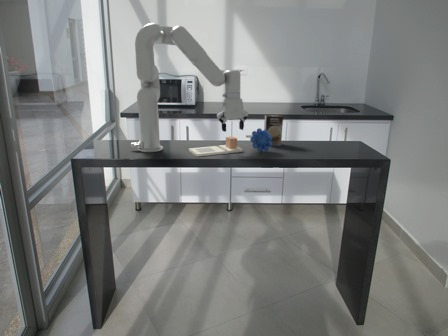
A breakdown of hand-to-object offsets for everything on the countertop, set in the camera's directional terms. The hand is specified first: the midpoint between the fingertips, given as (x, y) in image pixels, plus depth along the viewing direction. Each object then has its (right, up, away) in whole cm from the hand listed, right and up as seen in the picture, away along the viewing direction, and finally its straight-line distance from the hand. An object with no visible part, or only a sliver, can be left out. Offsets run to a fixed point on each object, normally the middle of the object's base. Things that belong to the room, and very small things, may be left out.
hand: (232, 130), depth 180 cm
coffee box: (+22, -6, +15) cm, 28 cm away
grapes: (+14, -11, -1) cm, 18 cm away
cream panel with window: (-13, -11, -2) cm, 17 cm away
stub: (-1, -10, +3) cm, 10 cm away
